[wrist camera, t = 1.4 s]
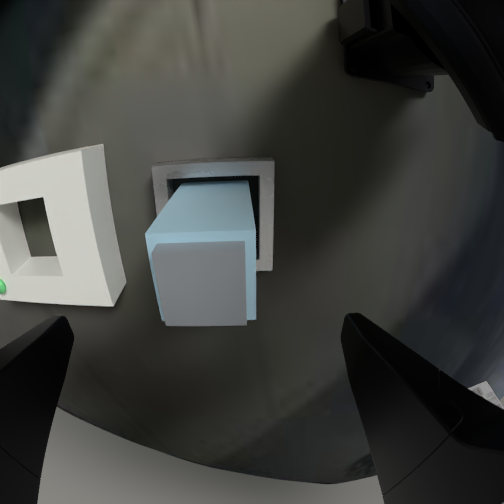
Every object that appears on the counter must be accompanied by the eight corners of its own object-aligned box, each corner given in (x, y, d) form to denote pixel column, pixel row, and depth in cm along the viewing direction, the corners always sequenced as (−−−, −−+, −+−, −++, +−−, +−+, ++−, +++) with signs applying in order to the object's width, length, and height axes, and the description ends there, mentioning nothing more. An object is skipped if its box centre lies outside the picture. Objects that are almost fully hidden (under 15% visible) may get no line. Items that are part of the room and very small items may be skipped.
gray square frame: (271, 157, 17) (274, 161, 16) (269, 259, 20) (272, 270, 19) (158, 162, 17) (151, 166, 15) (169, 262, 20) (165, 273, 18)
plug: (248, 180, 18) (257, 239, 10) (248, 240, 19) (257, 332, 11) (182, 182, 17) (138, 243, 10) (187, 242, 19) (158, 332, 11)
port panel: (103, 143, 16) (77, 151, 13) (126, 282, 20) (111, 310, 17) (-14, 172, 15) (-41, 184, 12) (15, 280, 20) (-5, 301, 17)
